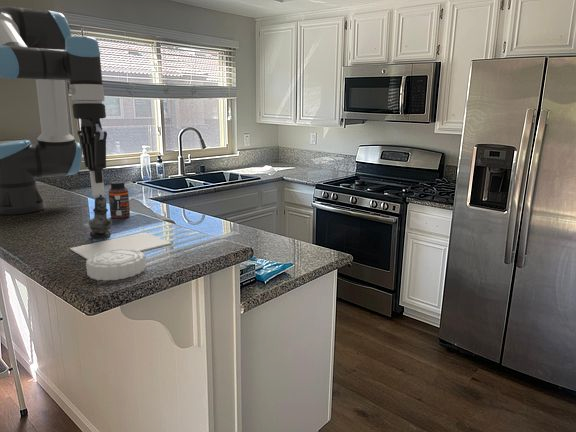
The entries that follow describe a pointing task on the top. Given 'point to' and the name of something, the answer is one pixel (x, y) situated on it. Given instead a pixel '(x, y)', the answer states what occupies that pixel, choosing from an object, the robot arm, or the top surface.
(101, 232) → the salt shaker
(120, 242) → the board
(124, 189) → the supplement bottle
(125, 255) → the mooncake
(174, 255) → the top surface
